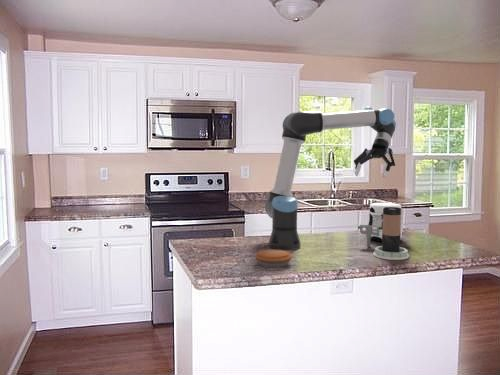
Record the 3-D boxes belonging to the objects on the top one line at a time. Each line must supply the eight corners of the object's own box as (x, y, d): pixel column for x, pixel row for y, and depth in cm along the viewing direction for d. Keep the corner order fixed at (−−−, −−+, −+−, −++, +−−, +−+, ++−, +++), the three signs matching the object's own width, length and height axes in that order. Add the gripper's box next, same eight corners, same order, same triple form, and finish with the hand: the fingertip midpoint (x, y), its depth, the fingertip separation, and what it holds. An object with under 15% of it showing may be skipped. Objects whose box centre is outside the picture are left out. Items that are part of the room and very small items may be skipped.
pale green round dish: (378, 260, 195) (378, 253, 195) (369, 251, 210) (369, 245, 210) (414, 259, 195) (414, 253, 195) (402, 251, 210) (402, 245, 210)
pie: (258, 258, 198) (258, 246, 198) (294, 260, 195) (294, 248, 195) (251, 268, 183) (251, 255, 182) (290, 270, 180) (290, 257, 180)
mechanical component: (380, 247, 218) (380, 226, 217) (357, 246, 220) (358, 225, 219) (379, 246, 221) (380, 225, 220) (357, 245, 223) (358, 224, 222)
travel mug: (403, 254, 200) (405, 209, 198) (389, 256, 198) (390, 209, 196) (392, 251, 207) (393, 206, 205) (377, 252, 205) (379, 207, 203)
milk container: (399, 237, 243) (400, 202, 241) (405, 244, 226) (406, 207, 224) (365, 236, 245) (366, 202, 243) (368, 243, 228) (369, 206, 226)
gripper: (408, 148, 227) (397, 181, 216) (359, 148, 241) (347, 179, 231) (405, 137, 222) (393, 170, 212) (355, 138, 237) (343, 168, 226)
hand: (369, 175), depth 221 cm, fingers open, 13 cm apart
